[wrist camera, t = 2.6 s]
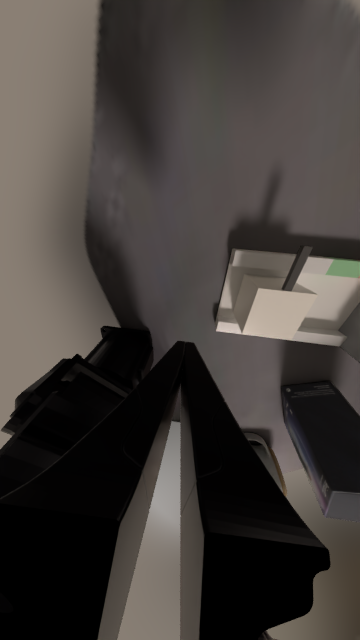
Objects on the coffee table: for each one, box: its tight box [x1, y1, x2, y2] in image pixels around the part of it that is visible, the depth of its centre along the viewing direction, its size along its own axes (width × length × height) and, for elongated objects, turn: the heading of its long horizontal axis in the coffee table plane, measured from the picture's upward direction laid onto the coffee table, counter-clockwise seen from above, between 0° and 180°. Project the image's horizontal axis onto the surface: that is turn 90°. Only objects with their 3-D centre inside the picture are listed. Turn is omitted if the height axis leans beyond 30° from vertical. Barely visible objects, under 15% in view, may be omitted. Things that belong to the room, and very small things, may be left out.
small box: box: [281, 381, 360, 522], centre depth 19 cm, size 11×6×10 cm, turn 21°
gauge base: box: [215, 248, 360, 363], centre depth 13 cm, size 15×8×4 cm, turn 86°
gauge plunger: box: [233, 246, 318, 340], centre depth 12 cm, size 4×7×4 cm, turn 176°
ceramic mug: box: [244, 433, 287, 497], centre depth 28 cm, size 11×8×8 cm
